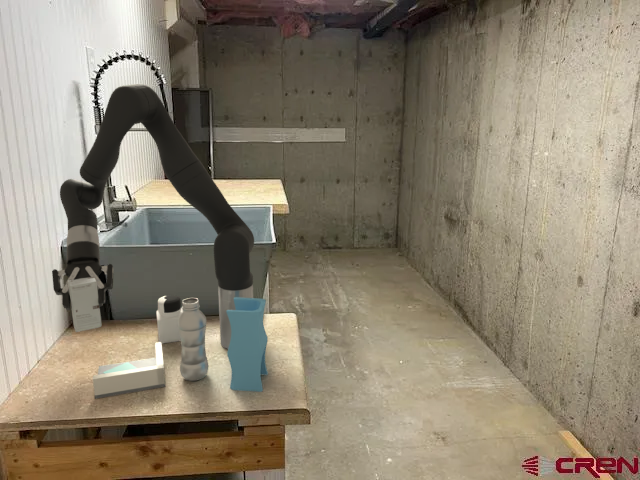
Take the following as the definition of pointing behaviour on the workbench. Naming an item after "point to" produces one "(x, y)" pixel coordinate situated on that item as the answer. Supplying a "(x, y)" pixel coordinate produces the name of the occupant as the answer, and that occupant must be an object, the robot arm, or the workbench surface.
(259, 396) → the workbench surface
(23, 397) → the workbench surface
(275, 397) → the workbench surface
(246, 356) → the vase
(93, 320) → the skincare box
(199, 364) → the plastic bottle
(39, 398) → the workbench surface
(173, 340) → the medicine bottle
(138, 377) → the corner arena
